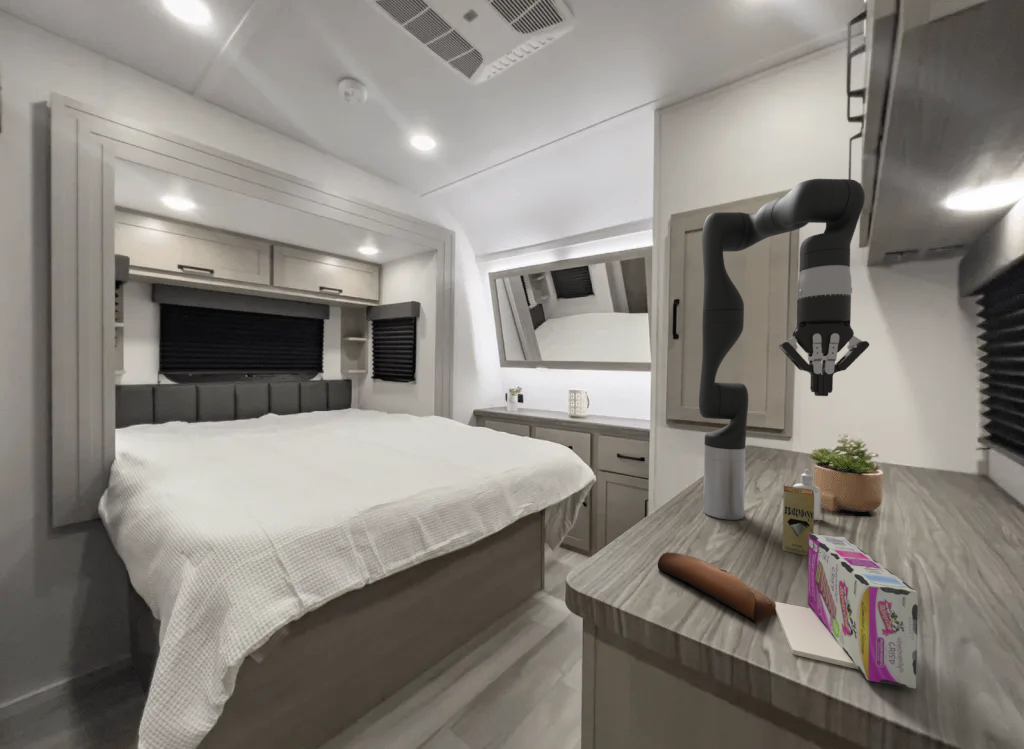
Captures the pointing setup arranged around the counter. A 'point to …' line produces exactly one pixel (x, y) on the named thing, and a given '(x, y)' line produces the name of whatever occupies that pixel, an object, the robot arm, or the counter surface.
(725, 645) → the counter surface
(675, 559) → the sunglasses case
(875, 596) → the candy bar box
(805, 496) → the shoe polish box
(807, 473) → the eye dropper bottle
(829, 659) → the board
